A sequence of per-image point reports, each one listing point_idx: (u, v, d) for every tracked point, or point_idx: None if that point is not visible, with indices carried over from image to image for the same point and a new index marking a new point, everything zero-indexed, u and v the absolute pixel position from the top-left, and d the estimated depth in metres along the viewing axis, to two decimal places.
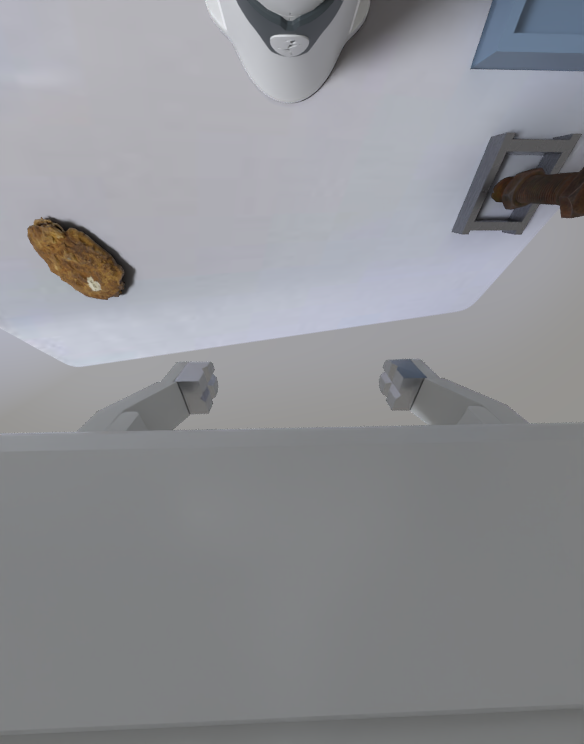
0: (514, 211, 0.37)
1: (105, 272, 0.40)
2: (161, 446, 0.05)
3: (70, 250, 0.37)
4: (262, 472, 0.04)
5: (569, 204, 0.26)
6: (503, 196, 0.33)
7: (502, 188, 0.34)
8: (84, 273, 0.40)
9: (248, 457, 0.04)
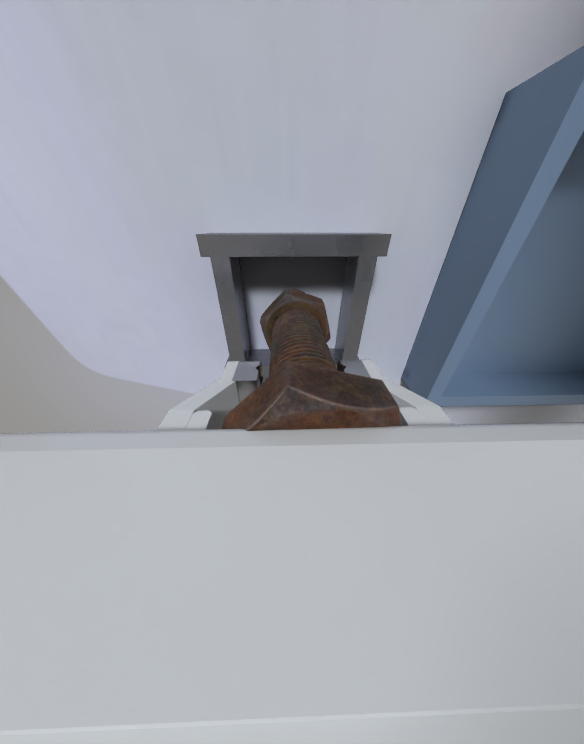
0: (263, 351, 0.20)
1: None
2: (161, 446, 0.05)
3: None
4: (262, 472, 0.04)
5: (260, 410, 0.05)
6: (283, 293, 0.14)
7: None
8: None
9: (248, 457, 0.04)
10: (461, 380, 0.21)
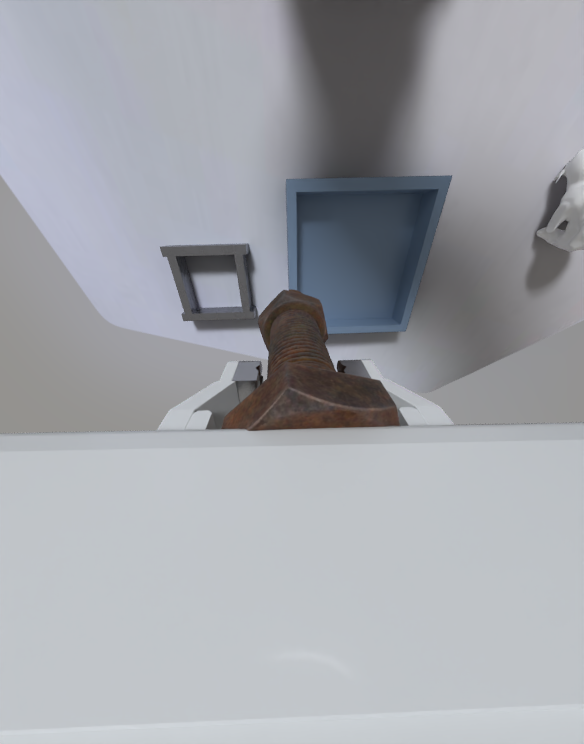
0: (205, 308, 0.37)
1: None
2: (161, 446, 0.05)
3: None
4: (262, 472, 0.04)
5: (259, 411, 0.05)
6: (281, 293, 0.14)
7: None
8: None
9: (248, 457, 0.04)
10: None
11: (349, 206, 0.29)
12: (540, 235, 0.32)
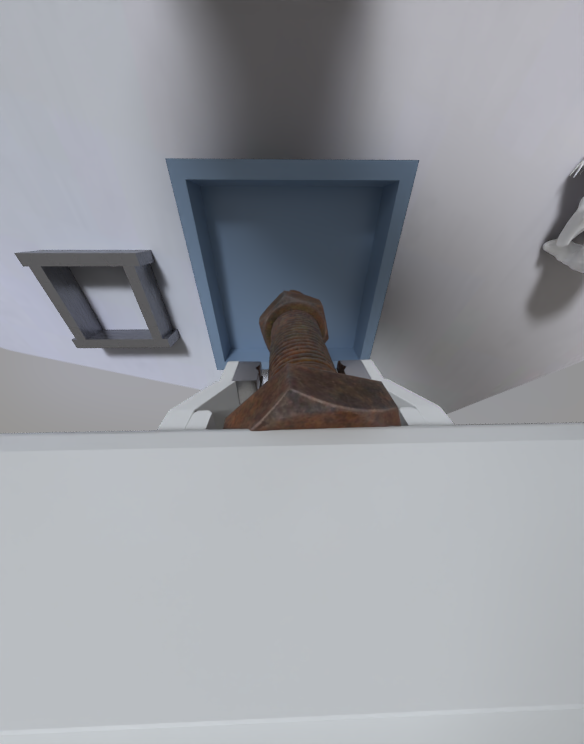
0: (110, 330, 0.29)
1: None
2: (160, 446, 0.05)
3: None
4: (262, 472, 0.04)
5: (261, 412, 0.05)
6: (281, 294, 0.14)
7: None
8: None
9: (248, 457, 0.04)
10: (254, 352, 0.29)
11: (280, 203, 0.21)
12: (547, 250, 0.24)
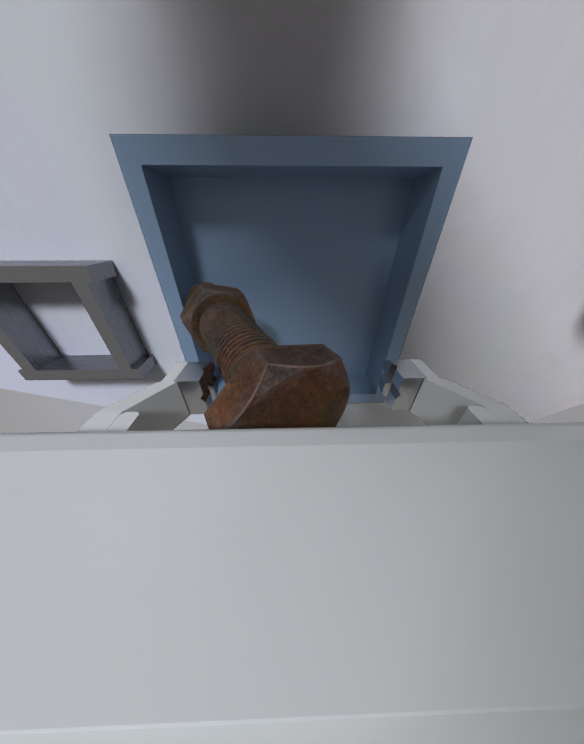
0: (70, 357, 0.24)
1: None
2: (160, 446, 0.05)
3: None
4: (262, 472, 0.04)
5: (248, 391, 0.06)
6: (198, 288, 0.13)
7: None
8: None
9: (248, 457, 0.04)
10: None
11: (277, 200, 0.16)
12: None
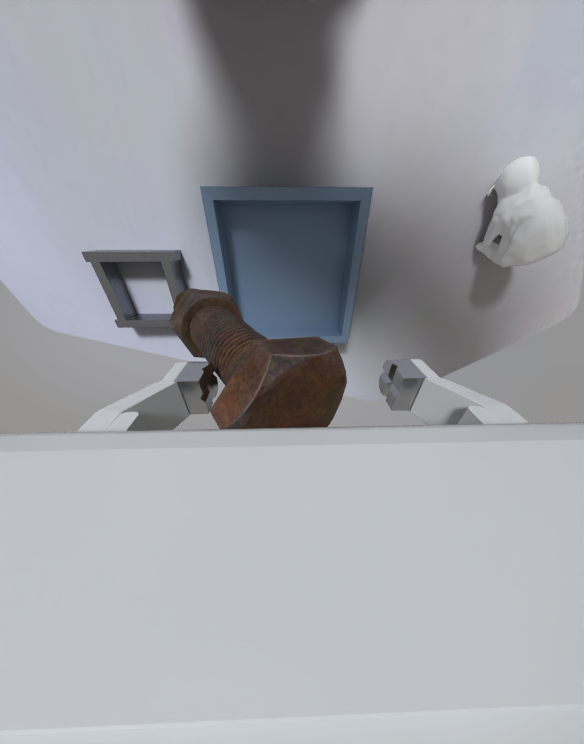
0: (143, 314, 0.36)
1: None
2: (161, 446, 0.05)
3: None
4: (262, 472, 0.04)
5: (255, 382, 0.06)
6: (186, 293, 0.13)
7: None
8: None
9: (248, 457, 0.04)
10: (258, 331, 0.37)
11: (278, 215, 0.29)
12: (478, 249, 0.32)
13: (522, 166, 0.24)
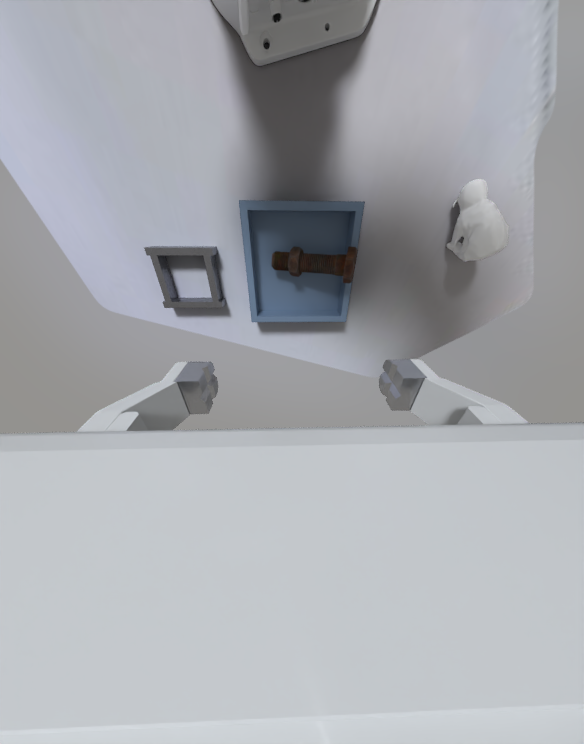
0: (183, 298, 0.45)
1: None
2: (161, 446, 0.05)
3: None
4: (262, 472, 0.04)
5: (355, 251, 0.34)
6: (294, 247, 0.37)
7: (285, 252, 0.39)
8: None
9: (248, 457, 0.04)
10: (274, 312, 0.46)
11: (294, 220, 0.38)
12: (448, 247, 0.41)
13: (474, 186, 0.33)
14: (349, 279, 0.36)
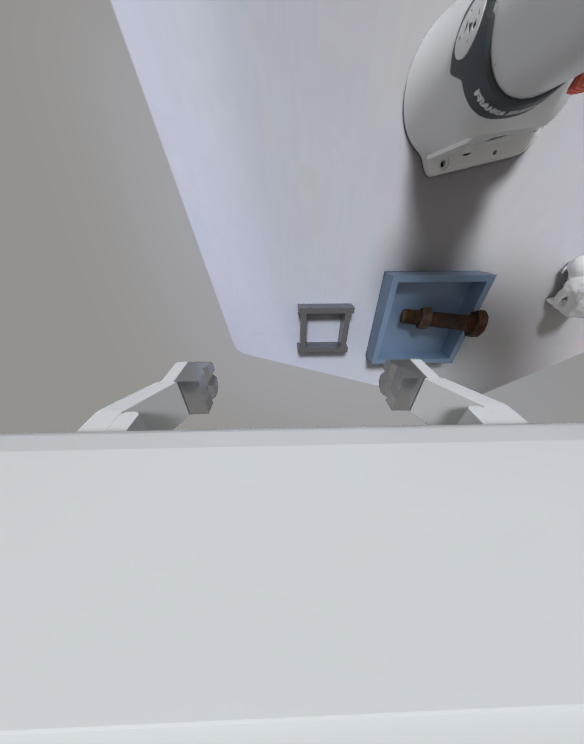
0: (309, 343, 0.52)
1: None
2: (161, 446, 0.05)
3: None
4: (262, 472, 0.04)
5: (486, 314, 0.41)
6: (426, 308, 0.44)
7: (414, 310, 0.46)
8: None
9: (248, 457, 0.04)
10: (387, 354, 0.53)
11: (425, 284, 0.45)
12: (549, 302, 0.48)
13: None
14: (476, 336, 0.43)
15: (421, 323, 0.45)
